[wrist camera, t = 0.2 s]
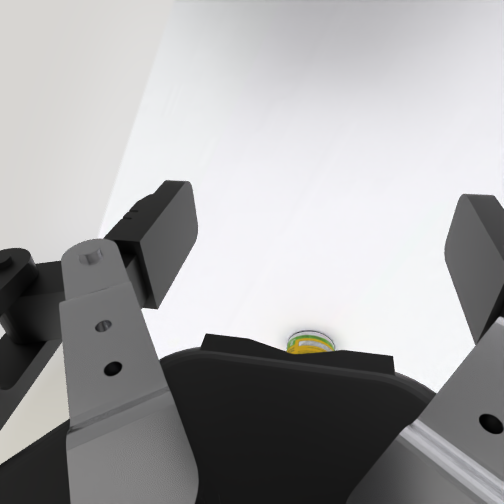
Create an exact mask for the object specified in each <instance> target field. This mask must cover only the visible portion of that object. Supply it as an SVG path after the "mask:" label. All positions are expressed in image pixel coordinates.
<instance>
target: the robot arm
mask: <svg viewBox="0 0 504 504" xmlns="http://www.w3.org/2000/svg"><path fill="white" fill-rule="evenodd" d="M197 234H198V222H197V216H196V209H195V203H194V196H193V190H192V186H191V183H190V182H189V181H171V180H166V181H164V182H163V184H162V185H161V186H160V187H159V188H158V189H157V190H156V192H155V193H154V194H150V195H148V196H146V197H145V198H143V199H141V200H139V201H137V202H136V203H135V205H134V206H133V207H132V208H131V209H130V210H129V212H127V213H126V214H125V215H124V216H123V219H121V220H120V221H119V222H118V223H117V224H116V225H115V226H114V227H113V228H112V230H111V231H110V232H109V233H108V234H107V235H106V236H105V237H104V238H103V239H92V240H87V241H84V242H81V243H79V244H77V245H74V246H73V247H71V248H70V249H68V250H67V251H66V252H65V253H64V254H63V256H62V258H61V261H55V262H47V263H39V264H35V263H34V261H33V259H32V257H31V254H30V252H29V251H27V250H25V249H21V248H11V249H4V250H1V251H0V324H1V325H2V327H3V328H4V330H5V332H6V333H5V334H4V335H3V337H2V338H1V339H0V430H1V429H2V427H3V426H4V425H5V423H6V422H7V420H8V419H9V417H10V416H11V414H12V413H13V412H14V410H15V409H16V407H17V406H18V404H19V403H20V402H21V400H22V399H23V397H24V396H25V394H26V393H27V391H28V390H29V389H30V387H31V386H32V384H33V383H34V381H35V380H36V379H37V377H38V376H39V374H40V373H41V371H42V370H43V368H44V367H45V366H46V364H47V363H48V361H49V360H50V358H51V357H52V356H53V354H54V353H55V351H56V350H57V348H58V347H59V346H60V344H61V343H62V342H63V353H64V363H65V374H66V383H67V384H66V385H67V394H68V404H69V416H70V419H68V420H67V421H65V422H64V423H62V424H61V425H59V426H58V427H56V428H55V429H53V430H52V431H50V432H49V433H47V434H46V435H44V436H43V437H41V438H40V439H39V440H37V441H35V442H34V443H32V444H31V445H29V446H28V447H26V448H25V449H23V450H22V451H20V452H19V453H17V454H16V455H14V456H13V457H11V458H10V459H8V460H7V461H5V462H4V463H2V464H1V465H0V504H504V209H503V208H502V206H501V205H500V203H499V202H498V200H497V199H496V197H495V196H493V195H478V194H463V195H461V197H460V198H459V200H458V203H457V206H456V210H455V213H454V216H453V219H452V223H451V226H450V229H449V233H448V236H447V239H446V243H445V261H446V264H447V267H448V270H449V273H450V275H451V278H452V281H453V284H454V287H455V289H456V292H457V295H458V298H459V301H460V303H461V306H462V309H463V312H464V314H465V317H466V320H467V323H468V326H469V328H470V331H471V334H472V337H473V340H474V342H475V345H476V346H475V347H474V348H473V350H472V351H471V352H470V353H469V355H468V356H467V357H466V358H465V360H464V361H463V362H462V363H461V365H460V366H459V367H458V368H457V370H456V371H455V372H454V373H453V375H452V376H451V377H450V378H449V379H448V381H447V382H446V383H445V384H444V386H443V387H442V388H441V389H440V391H439V392H438V393H435V392H434V391H432V390H431V389H429V388H428V387H426V386H425V385H423V384H421V383H419V382H417V381H416V380H414V379H412V378H409V377H407V376H405V375H403V374H400V373H397V372H395V369H394V362H393V356H388V355H380V354H372V353H363V352H355V351H347V350H339V351H327V352H316V353H304V354H292V353H288V352H286V351H283V350H280V349H277V348H274V347H271V346H268V345H266V344H263V343H260V342H257V341H254V340H251V339H247V338H239V337H231V336H223V335H214V334H206V335H205V337H204V340H203V342H202V345H201V347H196V348H191V349H186V350H182V351H179V352H175V353H173V354H170V355H168V356H165V357H163V358H162V359H160V360H159V359H158V357H157V354H156V351H155V348H154V345H153V342H152V340H151V337H150V334H149V331H148V328H147V326H146V323H145V320H144V317H143V314H142V311H141V309H142V308H150V309H158V308H159V306H160V304H161V302H162V301H163V299H164V297H165V295H166V293H167V292H168V290H169V288H170V286H171V285H172V283H173V281H174V279H175V277H176V276H177V274H178V272H179V270H180V269H181V267H182V265H183V263H184V261H185V260H186V258H187V256H188V254H189V252H190V251H191V249H192V247H193V245H194V244H195V242H196V239H197Z"/></svg>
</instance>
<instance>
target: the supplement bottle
mask: <svg viewBox="0 0 504 504" xmlns="http://www.w3.org/2000/svg"><path fill="white" fill-rule="evenodd" d="M327 351H335V348H334V344H333V343H332V341H331V340H330V339H329V338H328V337H326V336H325V335H323V334H320V333H317V332H300V333H297V334H295V335H293V336H292V337H291V338H290V339H289V341H288V345H287V352H288V353H292V354H304V353H316V352H327Z"/></svg>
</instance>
